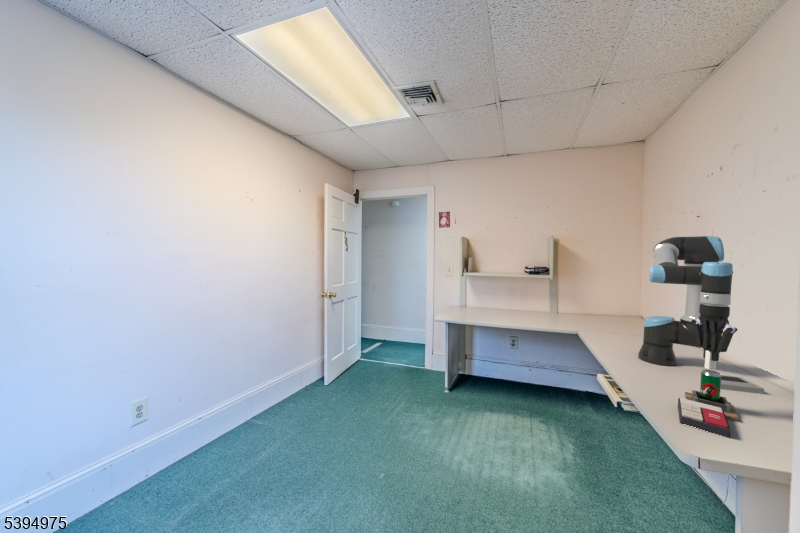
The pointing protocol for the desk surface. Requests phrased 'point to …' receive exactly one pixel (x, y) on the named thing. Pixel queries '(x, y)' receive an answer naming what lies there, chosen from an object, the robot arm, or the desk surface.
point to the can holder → (715, 404)
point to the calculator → (703, 417)
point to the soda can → (710, 385)
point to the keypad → (739, 385)
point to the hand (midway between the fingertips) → (710, 368)
